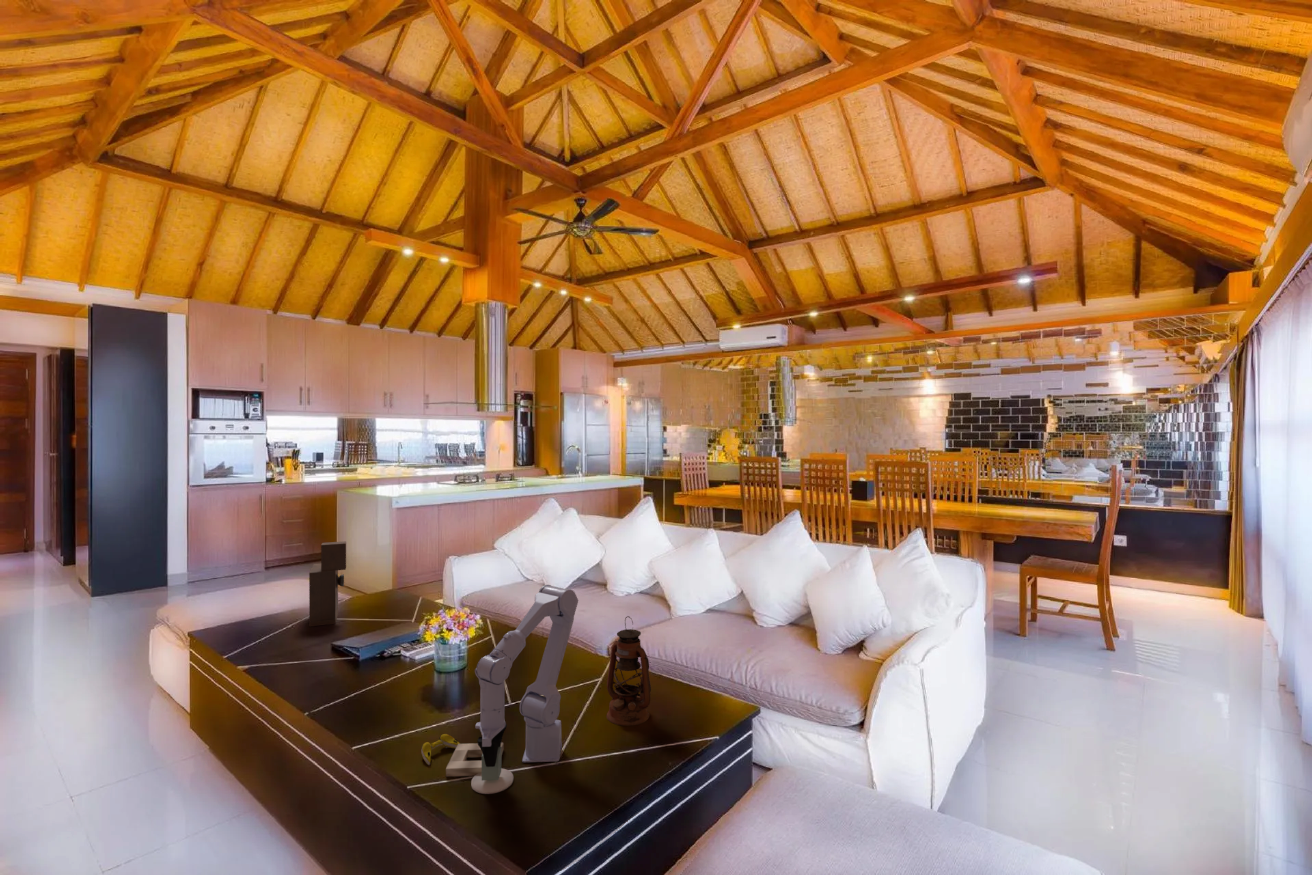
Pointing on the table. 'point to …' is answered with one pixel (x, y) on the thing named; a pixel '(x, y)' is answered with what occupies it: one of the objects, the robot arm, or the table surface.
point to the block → (492, 768)
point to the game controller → (443, 740)
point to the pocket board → (459, 757)
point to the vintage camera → (326, 584)
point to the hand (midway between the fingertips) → (492, 760)
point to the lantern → (626, 698)
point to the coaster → (492, 783)
